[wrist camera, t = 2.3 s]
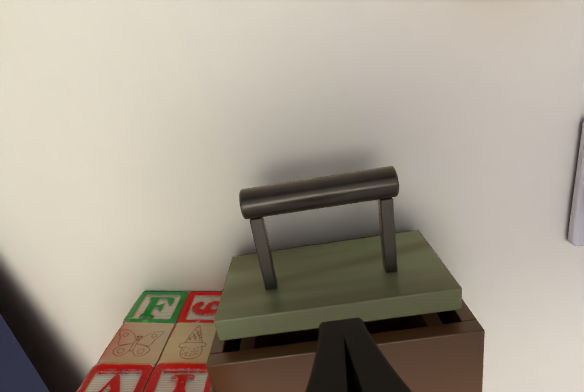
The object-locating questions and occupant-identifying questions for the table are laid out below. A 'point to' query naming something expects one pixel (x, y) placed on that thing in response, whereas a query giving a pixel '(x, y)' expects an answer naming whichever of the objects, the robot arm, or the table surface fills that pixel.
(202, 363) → the stack of blocks
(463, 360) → the cabinet
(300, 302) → the drawer
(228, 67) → the table surface
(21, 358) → the navy folded towel
